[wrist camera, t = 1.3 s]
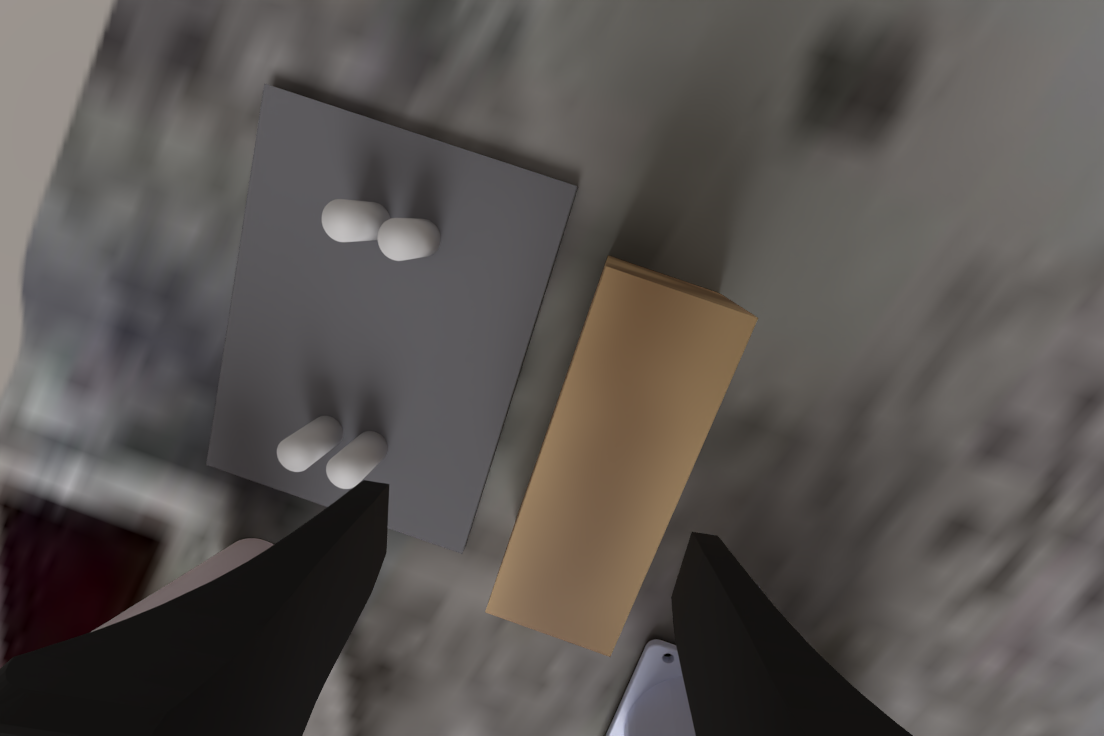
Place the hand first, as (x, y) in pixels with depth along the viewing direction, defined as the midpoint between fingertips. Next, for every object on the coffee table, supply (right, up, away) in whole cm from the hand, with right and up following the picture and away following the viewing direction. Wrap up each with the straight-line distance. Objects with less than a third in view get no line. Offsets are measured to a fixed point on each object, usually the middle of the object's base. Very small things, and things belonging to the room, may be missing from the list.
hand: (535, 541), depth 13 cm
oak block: (+3, +2, +10) cm, 10 cm away
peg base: (-7, +5, +10) cm, 13 cm away
